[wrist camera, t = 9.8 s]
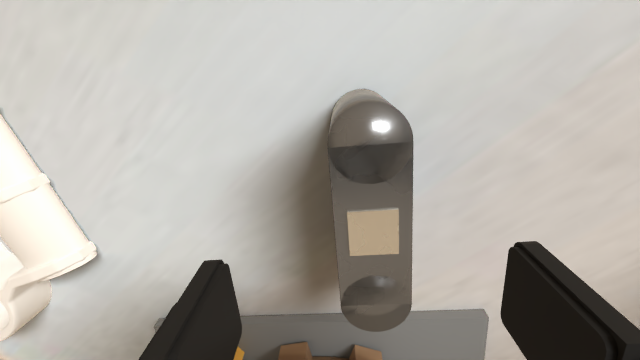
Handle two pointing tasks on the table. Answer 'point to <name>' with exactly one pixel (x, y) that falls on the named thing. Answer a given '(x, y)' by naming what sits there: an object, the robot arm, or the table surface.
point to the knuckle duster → (31, 236)
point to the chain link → (372, 209)
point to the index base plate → (367, 336)
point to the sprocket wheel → (299, 356)
